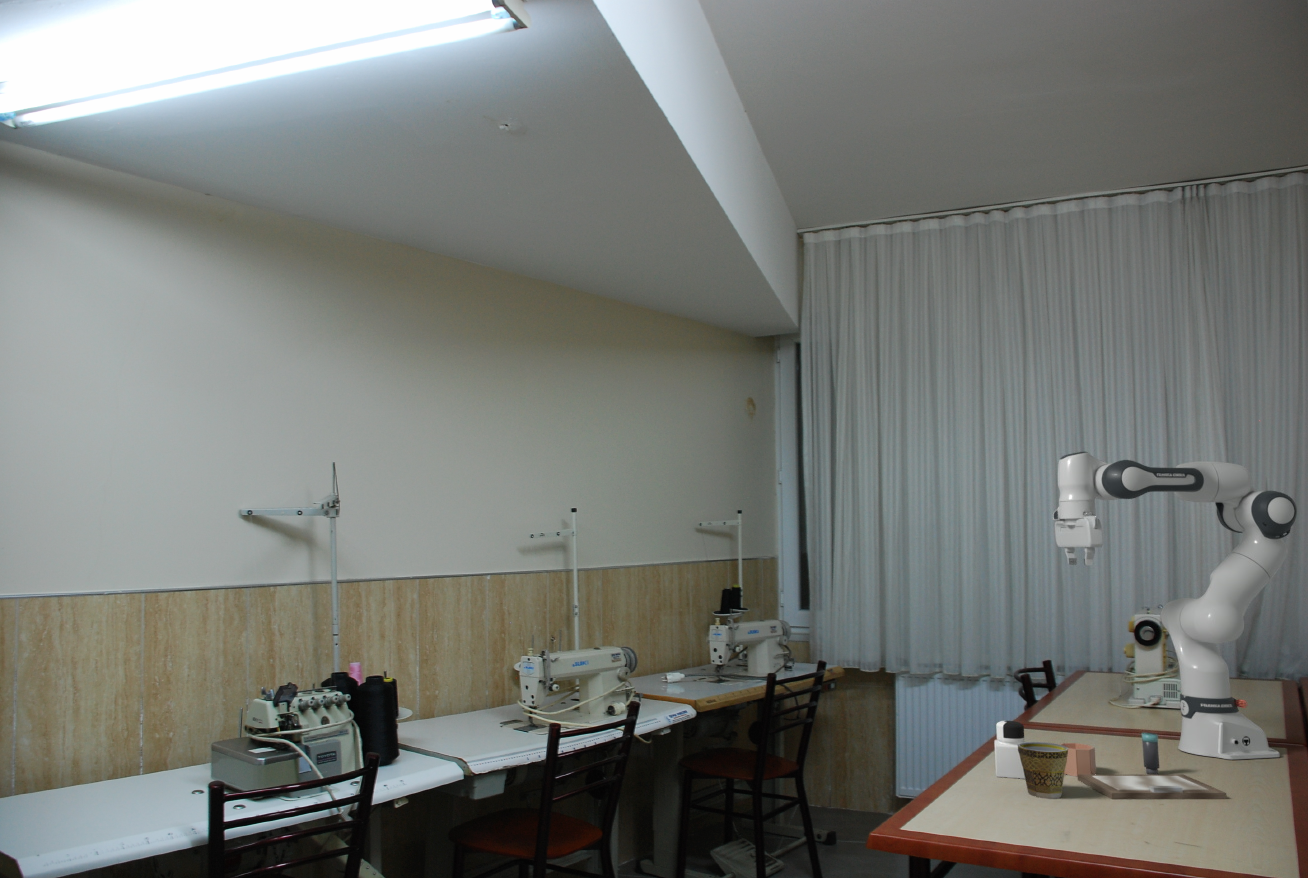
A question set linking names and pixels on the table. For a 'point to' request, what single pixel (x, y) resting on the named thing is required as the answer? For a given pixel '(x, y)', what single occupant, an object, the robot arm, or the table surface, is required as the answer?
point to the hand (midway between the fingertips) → (1080, 565)
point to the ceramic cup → (1043, 768)
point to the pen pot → (1080, 759)
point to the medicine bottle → (1009, 749)
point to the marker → (1150, 753)
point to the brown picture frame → (1151, 787)
